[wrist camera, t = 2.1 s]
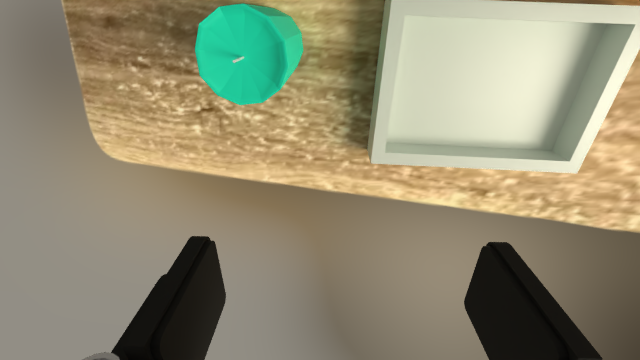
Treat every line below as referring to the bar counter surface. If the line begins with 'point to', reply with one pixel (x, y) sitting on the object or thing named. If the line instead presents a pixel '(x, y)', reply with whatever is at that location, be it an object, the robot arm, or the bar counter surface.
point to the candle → (247, 51)
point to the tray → (497, 82)
